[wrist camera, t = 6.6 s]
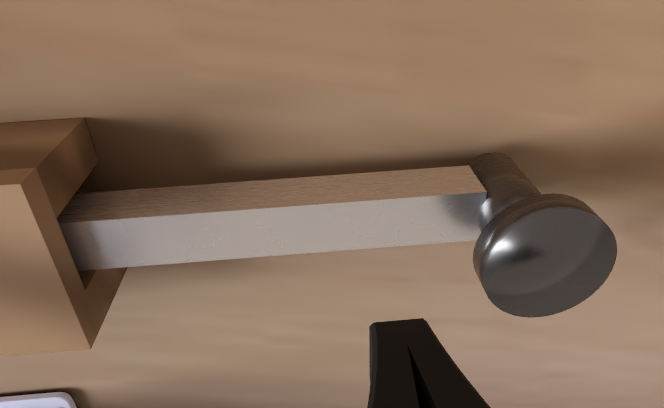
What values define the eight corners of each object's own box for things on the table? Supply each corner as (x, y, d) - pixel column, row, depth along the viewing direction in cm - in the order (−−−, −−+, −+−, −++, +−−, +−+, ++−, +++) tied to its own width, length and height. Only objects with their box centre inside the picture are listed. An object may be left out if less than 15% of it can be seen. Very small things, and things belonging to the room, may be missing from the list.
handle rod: (528, 219, 21) (598, 311, 16) (103, 251, 20) (45, 358, 15) (546, 129, 18) (633, 206, 14) (72, 162, 18) (-7, 255, 13)
